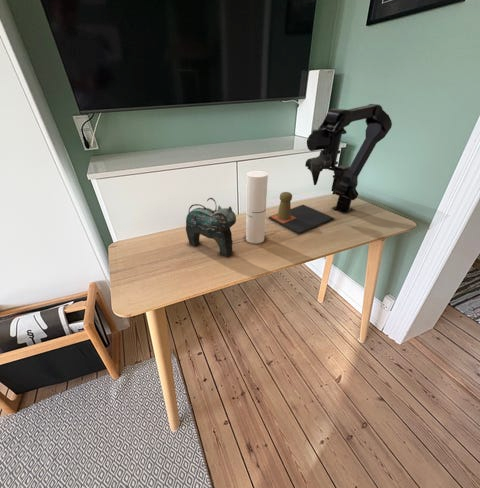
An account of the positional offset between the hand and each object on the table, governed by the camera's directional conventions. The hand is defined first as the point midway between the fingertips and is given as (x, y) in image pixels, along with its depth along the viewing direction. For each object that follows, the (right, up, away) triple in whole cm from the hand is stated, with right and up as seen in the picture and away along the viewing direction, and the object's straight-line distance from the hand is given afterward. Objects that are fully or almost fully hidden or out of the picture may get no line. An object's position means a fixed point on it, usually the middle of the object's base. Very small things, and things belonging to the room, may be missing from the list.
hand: (323, 187), depth 108 cm
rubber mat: (-8, -12, +6) cm, 16 cm away
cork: (-16, -11, +6) cm, 20 cm away
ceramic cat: (-46, -27, -13) cm, 55 cm away
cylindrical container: (-29, -22, -7) cm, 37 cm away
